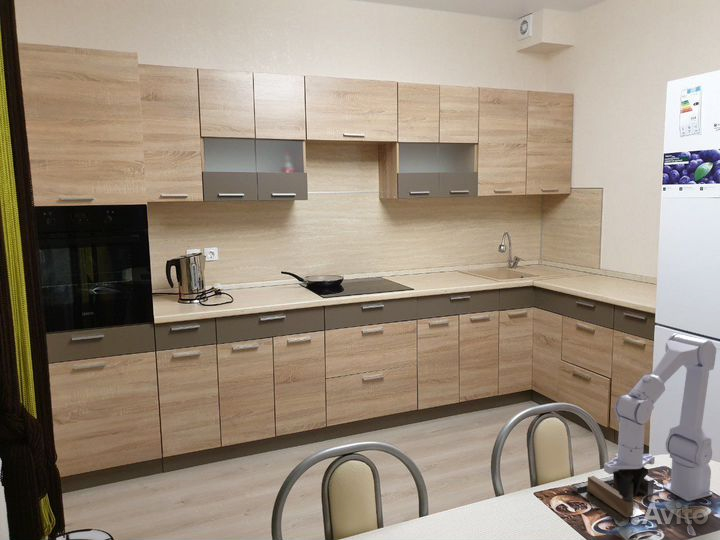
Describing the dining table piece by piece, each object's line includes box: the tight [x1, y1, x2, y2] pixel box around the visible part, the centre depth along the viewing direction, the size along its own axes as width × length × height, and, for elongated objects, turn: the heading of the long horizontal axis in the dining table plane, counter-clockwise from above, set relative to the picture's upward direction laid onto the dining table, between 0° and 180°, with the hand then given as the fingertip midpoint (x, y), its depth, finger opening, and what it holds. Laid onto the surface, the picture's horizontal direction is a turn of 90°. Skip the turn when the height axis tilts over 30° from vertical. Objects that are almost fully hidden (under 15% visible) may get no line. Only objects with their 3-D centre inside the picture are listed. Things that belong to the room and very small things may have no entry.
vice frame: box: [572, 474, 655, 522], centre depth 146 cm, size 18×16×4 cm
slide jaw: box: [586, 475, 635, 517], centre depth 143 cm, size 2×14×9 cm, turn 20°
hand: (627, 494), depth 138 cm, fingers closed on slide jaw, 2 cm apart
